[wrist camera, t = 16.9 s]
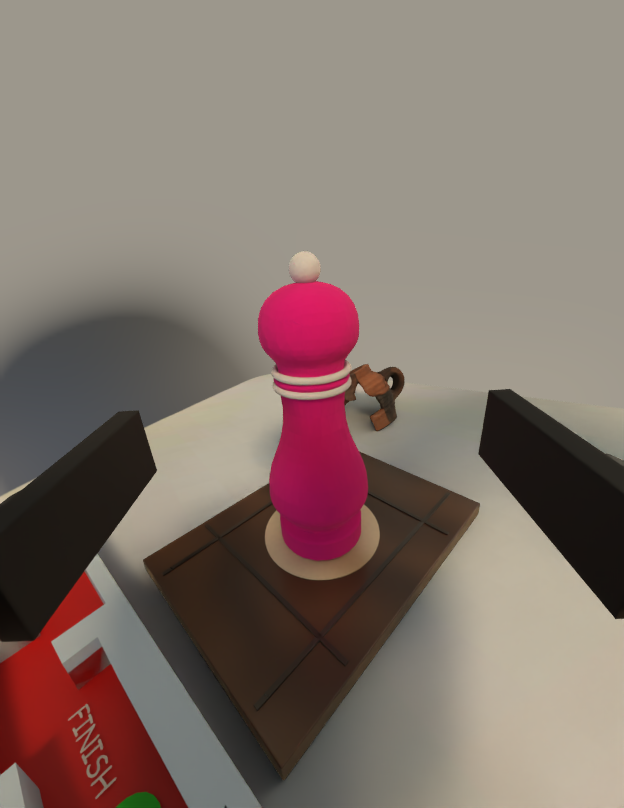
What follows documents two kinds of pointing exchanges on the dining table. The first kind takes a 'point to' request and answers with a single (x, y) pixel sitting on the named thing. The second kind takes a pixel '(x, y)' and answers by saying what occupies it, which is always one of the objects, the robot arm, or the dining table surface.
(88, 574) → the maze game
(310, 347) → the pepper mill
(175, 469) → the dining table surface
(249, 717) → the board
